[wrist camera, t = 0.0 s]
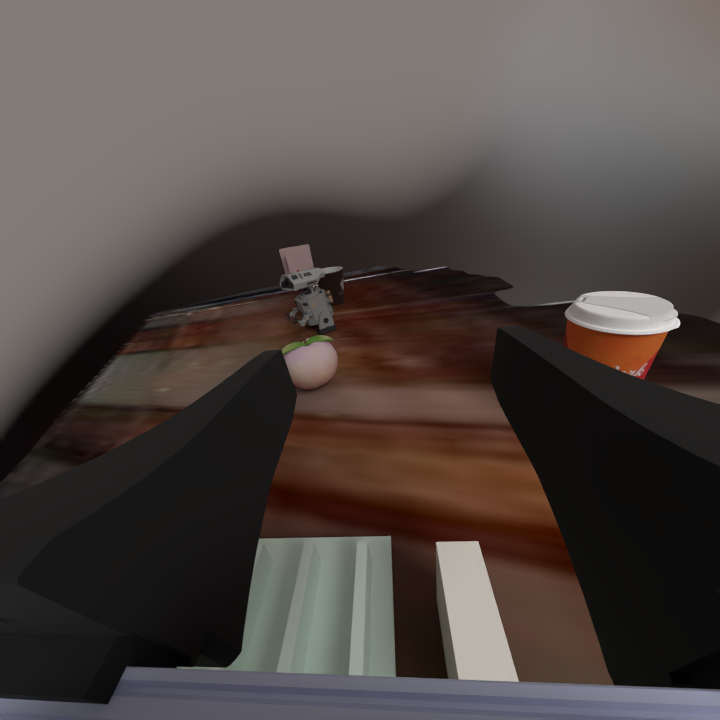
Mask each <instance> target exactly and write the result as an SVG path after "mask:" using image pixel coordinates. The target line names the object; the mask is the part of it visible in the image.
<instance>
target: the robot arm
mask: <svg viewBox="0 0 720 720" xmlns="http://www.w3.org/2000/svg"><path fill="white" fill-rule="evenodd" d="M490 379H491V381H492V384H493V387H494V390H495V393H496V396H497V398H498V401H499V403H500V406H501V407H502V409H503V411H504V413H505V415H506V417H507V419H508V421H509V423H510V424H511V426H512V428H513V430H514V432H515V434H516V435H517V437H518V439H519V441H520V443H521V445H522V446H523V448H524V450H525V452H526V454H527V456H528V457H529V459H530V461H531V463H532V465H533V467H534V469H535V471H536V473H537V475H538V477H539V479H540V482H541V484H542V487H543V489H544V491H545V494H546V496H547V499H548V501H549V503H550V506H551V508H552V511H553V513H554V516H555V518H556V521H557V524H558V526H559V529H560V531H561V534H562V537H563V539H564V542H565V544H566V547H567V550H568V552H569V555H570V558H571V561H572V564H573V566H574V569H575V572H576V575H577V578H578V580H579V583H580V586H581V589H582V592H583V594H584V598H585V601H586V604H587V607H588V610H589V613H590V616H591V619H592V622H593V625H594V628H595V631H596V634H597V637H598V640H599V643H600V647H601V650H602V653H603V656H604V660H605V663H606V666H607V669H608V672H609V674H610V677H611V679H612V681H613V683H614V685H590V684H564V683H539V682H513V681H487V680H462V679H436V678H410V677H385V676H359V675H333V674H307V673H282V672H256V671H230V670H205V669H179V668H177V667H217V668H227V667H228V666H230V665H231V664H232V663H233V662H234V661H235V660H236V659H237V657H238V656H239V655H240V653H241V652H242V644H243V635H244V628H245V621H246V614H247V607H248V600H249V592H250V586H251V581H252V575H253V569H254V563H255V557H256V551H257V546H258V541H259V536H260V531H261V526H262V521H263V516H264V512H265V507H266V503H267V499H268V494H269V490H270V486H271V483H272V479H273V476H274V473H275V470H276V467H277V464H278V461H279V458H280V455H281V452H282V449H283V446H284V443H285V441H286V438H287V435H288V431H289V428H290V425H291V422H292V419H293V414H294V409H295V403H296V397H297V393H296V390H295V387H294V384H293V381H292V378H291V376H290V373H289V370H288V367H287V364H286V361H285V359H284V356H283V353H282V350H272V351H264V352H263V353H261V354H259V355H258V356H256V357H255V358H254V359H252V360H251V361H249V362H248V363H247V364H245V365H244V366H243V367H241V368H240V369H239V370H238V371H236V372H235V373H234V374H232V375H231V376H230V377H228V378H227V379H226V380H224V381H223V382H222V383H220V384H219V385H218V386H216V387H215V388H213V389H212V390H211V391H209V392H208V393H206V394H205V395H204V396H202V397H201V398H199V399H198V400H197V401H195V402H194V403H192V404H191V405H189V406H188V407H186V408H185V409H183V410H182V411H180V412H179V413H177V414H176V415H174V416H172V417H171V418H169V419H167V420H166V421H164V422H162V423H161V424H159V425H157V426H156V427H154V428H152V429H150V430H149V431H147V432H145V433H143V434H141V435H139V436H137V437H136V438H134V439H132V440H130V441H128V442H126V443H124V444H122V445H121V446H119V447H117V448H115V449H113V450H111V451H109V452H107V453H105V454H103V455H101V456H99V457H97V458H95V459H93V460H91V461H88V462H86V463H84V464H82V465H80V466H78V467H76V468H73V469H71V470H69V471H67V472H65V473H62V474H60V475H58V476H56V477H53V478H51V479H49V480H46V481H44V482H42V483H39V484H37V485H35V486H32V487H30V488H27V489H25V490H22V491H20V492H17V493H15V494H12V495H10V496H7V497H5V498H2V499H0V720H720V404H716V403H713V402H709V401H706V400H703V399H699V398H696V397H693V396H690V395H687V394H683V393H680V392H677V391H675V390H672V389H669V388H666V387H663V386H660V385H657V384H654V383H651V382H648V381H646V380H643V379H640V378H637V377H635V376H632V375H629V374H627V373H624V372H622V371H619V370H617V369H615V368H612V367H610V366H607V365H605V364H602V363H600V362H598V361H595V360H593V359H591V358H589V357H586V356H584V355H582V354H580V353H577V352H575V351H573V350H571V349H569V348H567V347H565V346H562V345H560V344H558V343H556V342H554V341H552V340H550V339H548V338H546V337H543V336H541V335H539V334H537V333H535V332H533V331H530V330H528V329H526V328H523V327H520V326H510V327H500V328H497V335H496V343H495V350H494V357H493V364H492V371H491V378H490Z"/></svg>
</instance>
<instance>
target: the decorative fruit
mask: <svg viewBox="0 0 720 720" xmlns="http://www.w3.org/2000/svg"><path fill="white" fill-rule="evenodd" d="M303 338H304V341H303V342H294V343H291V344H289V345H287V346H285V347H284V348H283V349H282V353H283V356H284V359H285V361H286V364H287V367H288V370H289V373H290V376H291V378H292V381H293V384H294V386H296V387H298V388H301V389H305V390H310V389H315V388H318V387H320V386H321V385H323V384H325V383H327V382H328V381H330V380H331V379H332V378H333V376H334V374H335V372H336V370H337V365H338V358H337V353H336V351H335V349H334V348H333V346H332V345H331V344H330V343H329V342H328V341H327V340H332V341H334V340H333V339H332V338H330V337H328V336H324V335H317V336H313V337H311V338H308V339H306V338H305V335H303Z"/></svg>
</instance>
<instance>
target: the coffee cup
mask: <svg viewBox="0 0 720 720" xmlns="http://www.w3.org/2000/svg"><path fill="white" fill-rule="evenodd" d="M565 316H566V318H567V319H568V320H567V326H566V331H565V337H564V343H563V346H565V347H567V348H569V349H571V350H573V351H575V352H577V353H580V354H582V355H584V356H586V357H589V358H591V359H593V360H595V361H598V362H600V363H602V364H605V365H607V366H610V367H612V368H615V369H617V370H619V371H622V372H624V373H627V374H629V375H632V376H635V377H637V378H640V379H643V380H644V378H645V376H646V374H647V372H648V370H649V368H650V366H651V364H652V362H653V360H654V358H655V356H656V354H657V352H658V350H659V348H660V346H661V345H662V343H663V341H664V339H665V337H666V335H667V333H668V331H670V330H672V329H675V328H678V327H679V326H680V321H679V319H678V318H676V317H677V316H678V312H677V311H676V310H674V309H673V304H672V303H670V302H669V301H667V300H664V299H662V298H660V297H657V296H653V295H648V294H642V293H635V292H623V291H602V292H592V293H587V294H583V295H581V296H580V297H578V298H577V299H576V300H575V302H574V303H573V304H572V305H571V306H570V307H569V308H568V309H567V310H566V311H565Z"/></svg>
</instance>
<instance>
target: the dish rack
mask: <svg viewBox="0 0 720 720" xmlns="http://www.w3.org/2000/svg"><path fill="white" fill-rule="evenodd" d="M177 668H179V669H205V670H230V671H256V672H282V673H307V674H333V675H359V676H385V677H396V660H395V632H394V604H393V577H392V549H391V536H371V537H319V538H267V539H259V541H258V546H257V551H256V557H255V563H254V569H253V575H252V581H251V586H250V592H249V600H248V607H247V614H246V621H245V628H244V635H243V644H242V652H241V653H240V655H239V656H238V657H237V659H236V660H235V661H234V662H233V663H232V664H231V665H230V666H228V667H227V668H217V667H177Z"/></svg>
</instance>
